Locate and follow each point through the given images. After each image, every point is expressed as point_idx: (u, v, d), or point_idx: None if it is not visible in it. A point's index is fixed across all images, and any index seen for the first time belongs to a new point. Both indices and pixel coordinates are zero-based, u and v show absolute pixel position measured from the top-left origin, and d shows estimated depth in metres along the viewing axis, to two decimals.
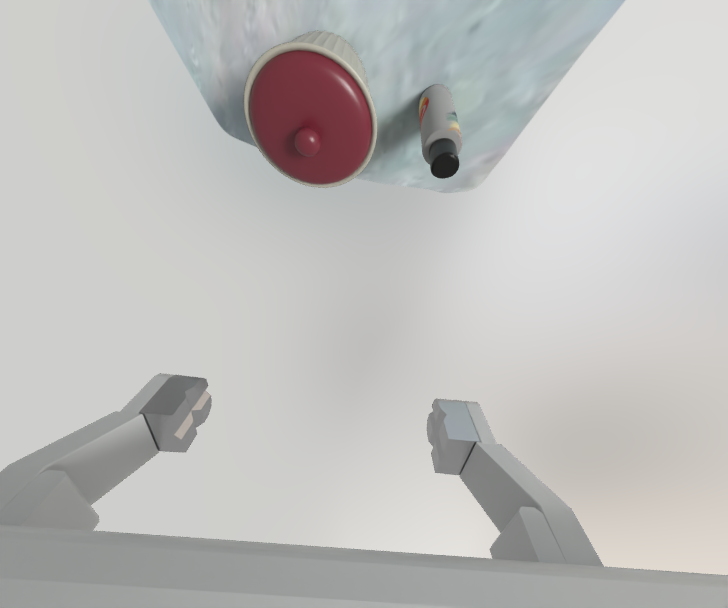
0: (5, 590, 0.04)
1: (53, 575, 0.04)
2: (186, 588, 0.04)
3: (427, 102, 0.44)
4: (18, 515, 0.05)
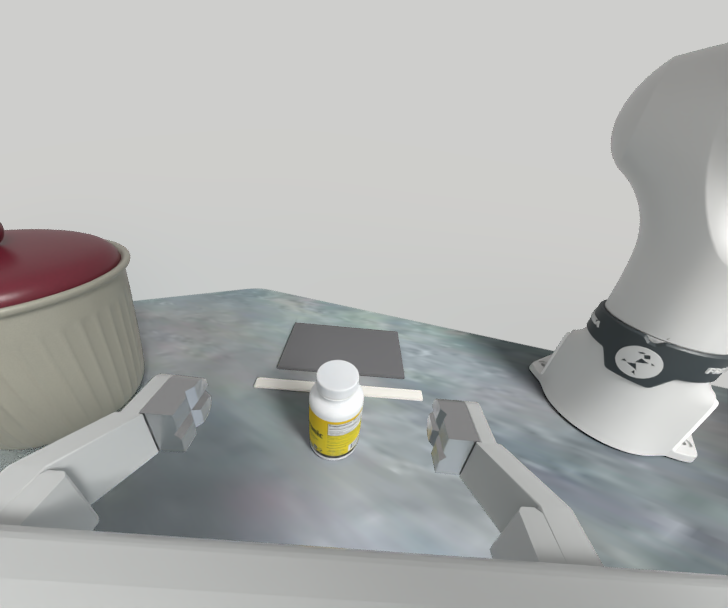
0: (5, 590, 0.04)
1: (53, 575, 0.04)
2: (186, 588, 0.04)
3: None
4: (18, 515, 0.05)
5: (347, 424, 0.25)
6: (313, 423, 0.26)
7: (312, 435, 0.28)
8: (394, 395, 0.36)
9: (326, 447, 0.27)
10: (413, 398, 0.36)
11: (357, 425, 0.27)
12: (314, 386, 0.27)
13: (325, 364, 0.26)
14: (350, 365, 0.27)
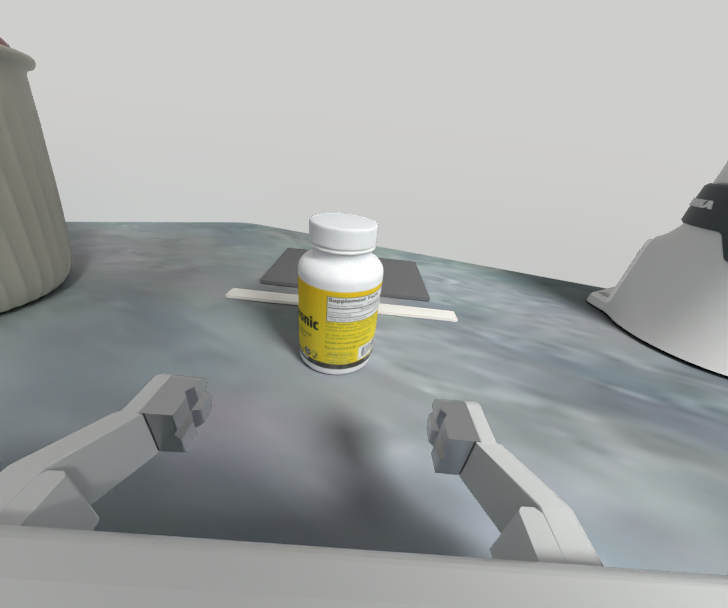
0: (5, 590, 0.04)
1: (52, 576, 0.04)
2: (186, 588, 0.04)
3: None
4: (18, 515, 0.05)
5: (358, 300, 0.16)
6: (305, 305, 0.17)
7: (303, 332, 0.18)
8: (418, 313, 0.26)
9: (324, 347, 0.17)
10: (444, 317, 0.26)
11: (373, 314, 0.17)
12: (307, 251, 0.17)
13: (324, 213, 0.17)
14: (363, 217, 0.17)
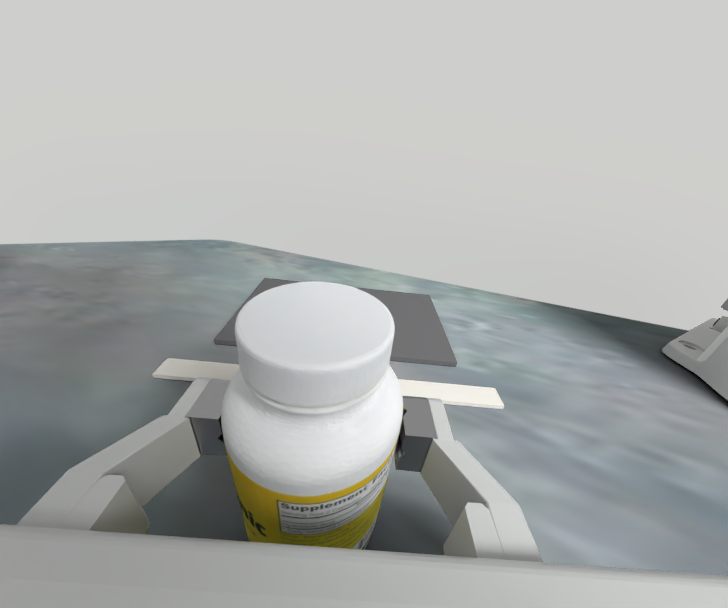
0: (5, 590, 0.04)
1: (53, 575, 0.04)
2: (186, 588, 0.04)
3: None
4: (85, 520, 0.05)
5: (350, 497, 0.07)
6: (236, 487, 0.08)
7: None
8: (445, 397, 0.18)
9: None
10: (484, 403, 0.18)
11: (382, 488, 0.09)
12: None
13: (278, 289, 0.08)
14: (362, 295, 0.08)
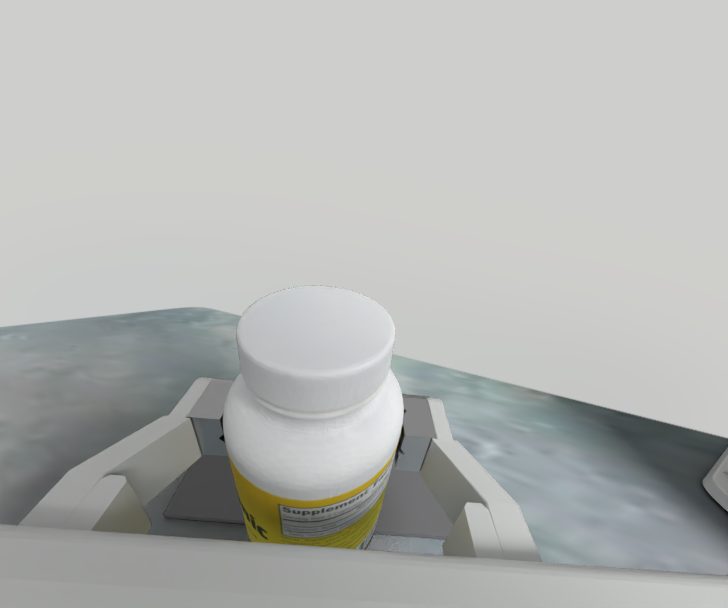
0: (5, 590, 0.04)
1: (53, 575, 0.04)
2: (186, 588, 0.04)
3: None
4: (87, 520, 0.05)
5: (351, 501, 0.07)
6: (238, 491, 0.08)
7: (244, 517, 0.09)
8: None
9: None
10: None
11: (383, 491, 0.09)
12: None
13: (279, 294, 0.08)
14: (363, 299, 0.08)
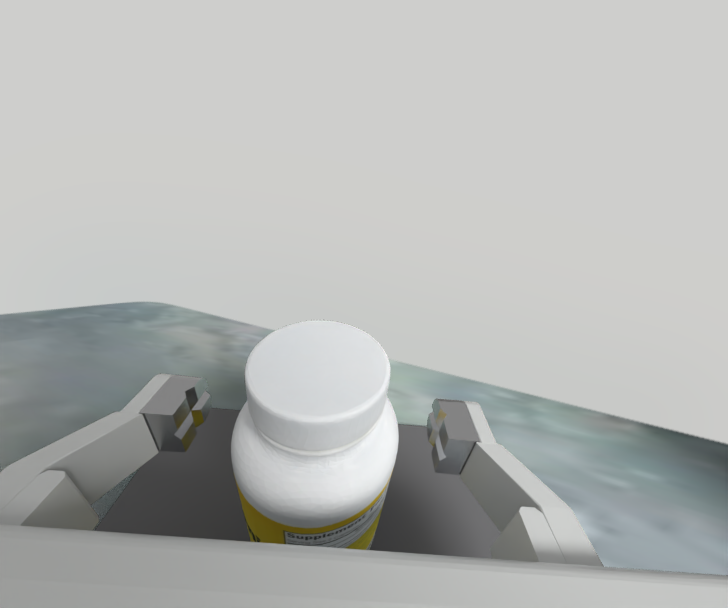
0: (5, 590, 0.04)
1: (52, 576, 0.04)
2: (186, 588, 0.04)
3: None
4: (18, 515, 0.05)
5: (349, 525, 0.08)
6: (246, 514, 0.08)
7: (250, 536, 0.10)
8: None
9: None
10: None
11: (379, 512, 0.09)
12: None
13: (283, 331, 0.09)
14: (360, 334, 0.09)
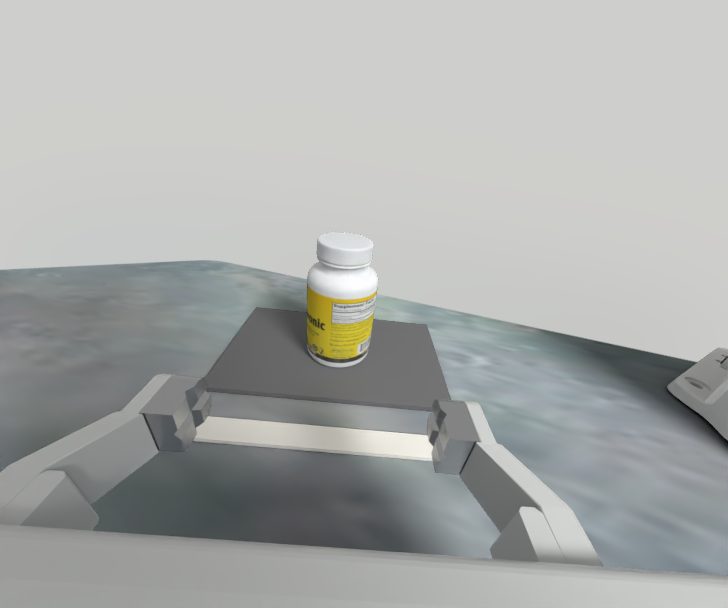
0: (5, 590, 0.04)
1: (53, 575, 0.04)
2: (186, 588, 0.04)
3: None
4: (18, 515, 0.05)
5: (357, 305, 0.19)
6: (313, 309, 0.20)
7: (311, 332, 0.21)
8: None
9: (329, 344, 0.21)
10: None
11: (370, 317, 0.21)
12: (314, 265, 0.21)
13: (328, 233, 0.20)
14: (361, 236, 0.21)
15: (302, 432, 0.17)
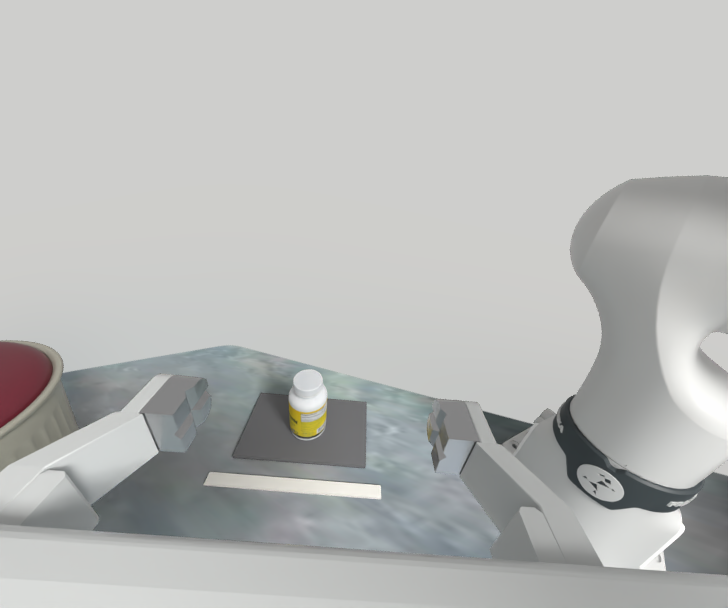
0: (5, 590, 0.04)
1: (53, 575, 0.04)
2: (186, 588, 0.04)
3: None
4: (18, 515, 0.05)
5: (314, 413, 0.37)
6: (291, 413, 0.38)
7: (291, 422, 0.39)
8: (351, 493, 0.35)
9: (301, 430, 0.39)
10: (371, 496, 0.34)
11: (322, 415, 0.39)
12: (292, 388, 0.39)
13: (299, 372, 0.38)
14: (317, 373, 0.38)
15: (284, 482, 0.35)
